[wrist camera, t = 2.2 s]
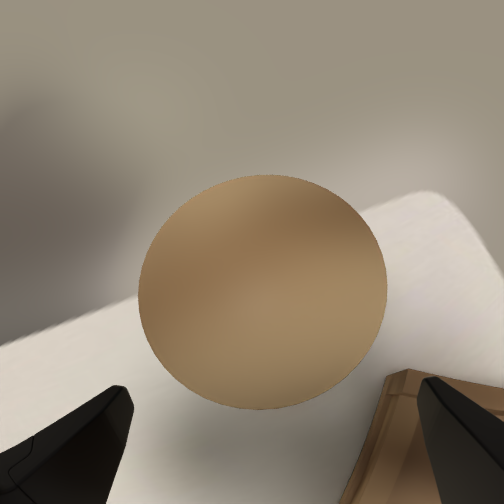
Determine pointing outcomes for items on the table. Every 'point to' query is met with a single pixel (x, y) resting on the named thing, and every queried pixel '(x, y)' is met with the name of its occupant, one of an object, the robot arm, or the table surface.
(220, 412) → the table surface
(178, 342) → the oak spool
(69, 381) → the table surface
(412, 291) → the table surface
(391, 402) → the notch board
